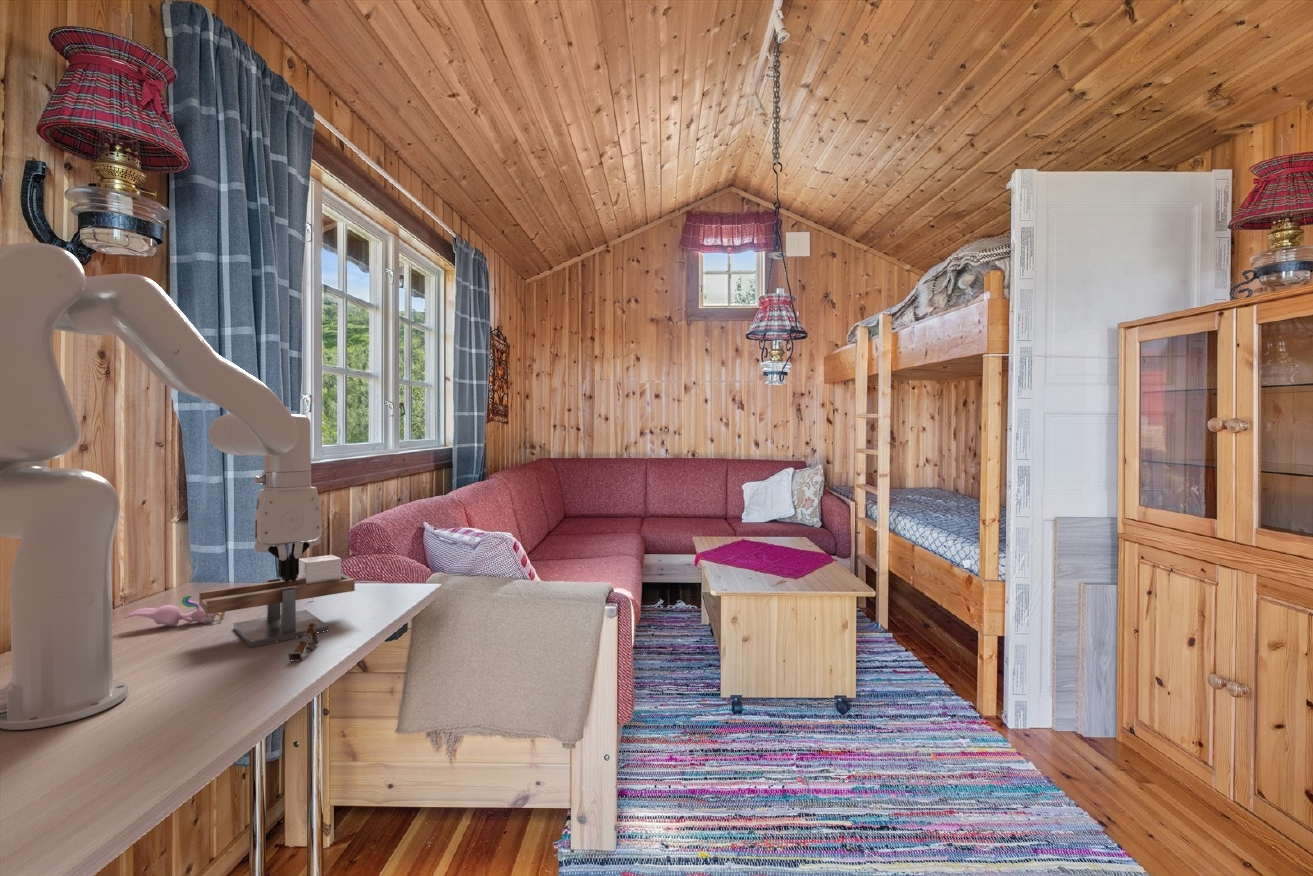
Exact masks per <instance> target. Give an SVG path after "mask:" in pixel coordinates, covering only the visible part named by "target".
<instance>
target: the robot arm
mask: <svg viewBox="0 0 1313 876" xmlns="http://www.w3.org/2000/svg"><path fill="white" fill-rule="evenodd" d="M85 274H86V273H85V270H84V268H83V266H82V263H80V261H79V260H78V258H77V257H76V256H75V255H74V254H72V253H71V252H70V251H68V250H67V249H65V248H62V247H60V246H58V245H54V244H49V243H43V242H22V243H14V244H6V245H0V537H2V538H3V537H4V538H10V539H11V538H12V539H19V543H18V548H17V550H16V553H15V556H14V559H13V562H12V565H11V571H10V572H11V573H10V581H9V583H10V584H9V585H10V586H9V587H10V588H9V593H10V594H9V596H10V643H11V644H10V647H11V649H10V651H11V653H10V654H11V657H10V659H11V661H10V662H11V678H9V679H8V683H7V684H6V685H2V686H0V729H2V730H9V731H12V730H13V731H19V730H20V731H23V730H32V729H33V730H34V729H40V728H46V727H51V726H52V727H53V726H56V725H62V724H65V723H70V722H74V721H77V720H81V719H83V718H88V717H90V716H93V715H96V714H98V713H101V712H103V711H106V710H108V709H109V708H112V707H114V706H115V705H117V704H119V703H121V702H122V701H123V700H124V699H125V698H126V697H127V696H128V694H129V685H128V683H126V682H124V681H122V680H121V681H120V680H118V679H117V680H115V679H114V668H113V667H114V666H113V665H114V662H113V661H114V660H113V659H114V657H113V656H114V655H113V654H114V653H113V649H114V647H113V644H114V643H113V582H112V571H113V570H112V569H113V568H112V561H113V560H112V558H113V547H114V540H115V535H116V530H117V526H118V522H119V519H120V518H119V517H120V508H121V506H120V503H121V502H120V498H119V494H118V492H117V490H116V488H115V487H114V486H113V485H112V484H111V483H110V481H109V480H107V479H106V478H104V477H103V476H102V475H100V474H97V473H95V472H92V471H89V470H85V469H81V468H71V467H49V466H48V463H47V461H51V460H56V459H58V458H61V457H63V456H65V455H67V454H68V453H70V452H71V451H72V450H73V449H74V448H75V447H76V446H77V444H78V442H79V440H80V435H81V431H80V430H81V429H80V423H79V420H78V416H77V414H76V412H75V409H74V406H73V404H72V401H71V398H70V395H69V393H68V391H67V387H66V385H65V382H64V379H63V378H62V374H61V372H60V371H61V370H60V368H59V366H58V363H57V359H56V356H55V352H54V346H53V335H54V331H62V332H67V333H68V332H69V333H76V334H81V335H88V336H89V335H91V336H110V335H111V336H112V335H115V336H117V338H118V339H119V340H121V342H123V344H124V345H125V346H126V347H127V348H128V349H129V350H130V351H131V352H132V353H133V354H134V355H135V356H136V357H137V358H138V359H139V360H140V361H141V362H142V363H143V364H144V365H145V366H146V368H147V369H148V370H149V371H150V372H151V373H152V374H153V375H154V376H155V377H156V378H157V379H158V380H159V381H160V382H161V383H162V384H163V385H165V386H167V387H169V388H171V389H173V390H176V391H178V392H180V393H183V394H186V395H189V396H192V397H195V398H198V399H201V400H203V401H207V402H209V403H211V404H213V405H216V406H218V407H219V408H221V409H223V410H225V411H227V412H228V413H225V414H223V415H220V416H218V417H217V418H215V419H214V420H213V421H212V423H211V424H210V426H209V430H208V439H209V441H210V443H211V444H212V445H213V447H214V448H216V450H218V451H220V452H222V453H225V454H226V455H232V456H263V458H262V459H263V471H262V474H259V476H258V475H256V476H254V478H253V482H254V483H253V484H257V485H258V484H259V485H262V487H263V488H262V489H261V488H260V489H259V490H258V491H259V492H258V496H257V501H256V508H255V519H254V539H255V541H254V546H253V550H254V551H256V552H258V553H270V554H271V555H273V556H274V557H275V558H277V563H278V567H277V568H278V569H277V570H278V572H277V573H278V576H279V577H278V578H281V581H283V580H284V581H285V582H288V581H290V580H292V581H295V580H296V579H297V576H298V574H299V559H301V558H302V555H303V554H304V553H305V552H306V551H307V550H308V548H312V547H315V546H318V545H320V544H322V539H321V537H322V533H323V527H322V526H323V525H322V523H323V522H322V514H321V505H320V497H319V494H318V489H317V487H316V486H312V441H311V439H312V437H311V436H312V434H311V433H312V430H311V428H312V427H311V425H312V424H311V420H310V418H309V417H308V416H307V415H304V414H295V413H294V414H293V413H292V414H291V412H290V411H289V409H288V408H287V407H286V406H285V405H284V403H283V401H281V399H279V397H278V396H277V395H276V393H275V392H273V390H272V389H271V388H270V387H268V386H267V385H266V384H265V383H263V382H262V381H261V380H259V379H258V378H256V377H255V376H253V375H251V374H249V373H248V372H247V371H246V370H244V369H243V368H240V367H239V366H238V365H236V364H235V363H233V362H231V361H230V360H228V359H226V358H225V357H222V356H221V355H220V354H219V353H218V352H216V351H215V350H214V349H213V347H212V346H211V345H210V344H209V343H208V341H207V340H206V339H205V338H204V336H202V335H201V333H200V332H199V331H198V329H197V328H196V327H195V326H194V325H193V323H192V322H191V321H190V320H189V319H188V318H187V316H186V315H185V314H184V313H183V312H182V310H181V309H180V308H179V307H178V306H177V304H175V302H174V301H173V300H172V298H171V297H170V296H169V295H168V294H167V293H166V291H164V290H163V288H162V287H161V286H159V284H158V283H156V282H155V281H154V280H152V279H151V278H148V277H147V276H144V275H140V274H134V273H114V274H113V273H112V274H111V273H110V274H103V275H97V276H95V275H94V276H87V275H85ZM288 544H291V546H290V553H289V555H287V554H288V553H287V550H286V549H287V548H286V545H288Z"/></svg>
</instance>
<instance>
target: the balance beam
mask: <svg viewBox="0 0 1313 876" xmlns="http://www.w3.org/2000/svg"><path fill="white" fill-rule="evenodd" d="M355 583H356V581H355V578H354V577H353V578H352V577H351V576H349V575H347V574H344V573H343V572H341V580H340V581H333V582H326V583H319V584H312V585H305V586H299V585H298V578H296V580H295V581H292V580H290V581H288V582H285V581H284V580H280V581H276V582H269V583H266V582H264V583H256V584H249V585H240V586H235V587H226V588H220V589H214V590H213V589H212V590H206V591H199V593H198V597H199V598H198V604H199V605H200V606H201V608H202V609H203V610H204V611H205V612H206V614H213V613H218V614H220V613H221V612H225V613H226V612H231V611H237V610H243V609H250V608H256V607H261V606H262V607H263V606H267V605H270V604H276V603H280V604H281V589H287V588H293V587H294V588H295V600H296V601H300V600H307V599H313V598H318V597H324V596H331V595H337V594H343V593H350V592H354V591H355V590H356V589H355Z"/></svg>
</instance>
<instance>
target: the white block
mask: <svg viewBox="0 0 1313 876" xmlns="http://www.w3.org/2000/svg"><path fill="white" fill-rule="evenodd" d="M341 573H342V558H341V557H339V556H337V555H334V554H327V555H320V556H312V557H300V558H299V574H298V575H297V579H298V585H299V586H305V585H312V584H319V583H326V582H333V581H340V580H341Z"/></svg>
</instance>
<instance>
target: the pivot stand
mask: <svg viewBox="0 0 1313 876" xmlns="http://www.w3.org/2000/svg"><path fill="white" fill-rule="evenodd" d="M276 581H281V577H273V578H267V579H266V581H265V583H269V582H276ZM296 601H297V600H295V588H294V587H293V588H287V589H281V603H276V604H270V605H266V617H259V618H256V619H251V620H250V619H249V620H244V621H240V622H239V621H238V622H234V623H233V630H234V631H235V632H236V633H237V634H238V635H239V636H240V638H241V639H242V640H243V642H245V641H246V642H245V643H246V644H247V645H248V647H249V648H251V647H253V648H256V647H255V646H257V647H262V646H265V645H264V644H267V645H269V644H268V643H271V644H274V643H273V642H276V641H281V642H284V641H283V640H286V641H288V640H287V639H290V640H293V639H292V638H295V639H297V638H296V637H300V636H303V635H304V634H305V633H306V632H307V630H308V627H309V624H310V623H311V622H313V621H316V622H317V628H316V633H317V632H323V631H327V630H329V629H330V627H329V625H328V624H327V623H325V622H324V621H323V620H321V619H320V618H318V617H317V616H315V615H314V614H312V612H310V611H308V610H307V609H303V610H299V611H297V610H296V606H297V605H296ZM329 631H330V630H329ZM323 633H324V632H323ZM300 638H301V637H300ZM276 643H277V642H276ZM261 645H262V646H261Z"/></svg>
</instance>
